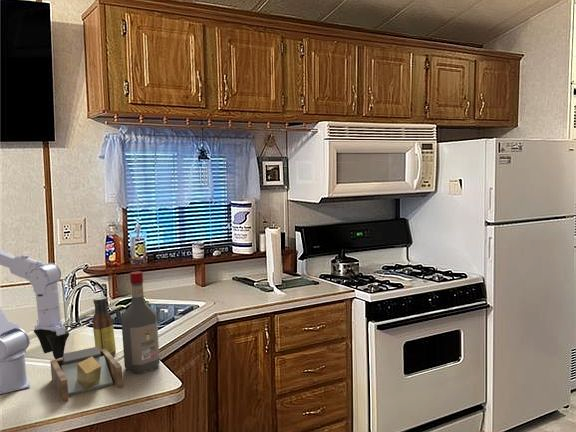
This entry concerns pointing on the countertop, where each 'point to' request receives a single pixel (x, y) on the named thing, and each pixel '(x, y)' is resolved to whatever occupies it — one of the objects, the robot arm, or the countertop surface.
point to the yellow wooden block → (88, 373)
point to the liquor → (139, 331)
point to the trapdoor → (72, 363)
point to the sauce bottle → (103, 326)
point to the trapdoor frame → (61, 380)
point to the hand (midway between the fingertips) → (53, 355)
